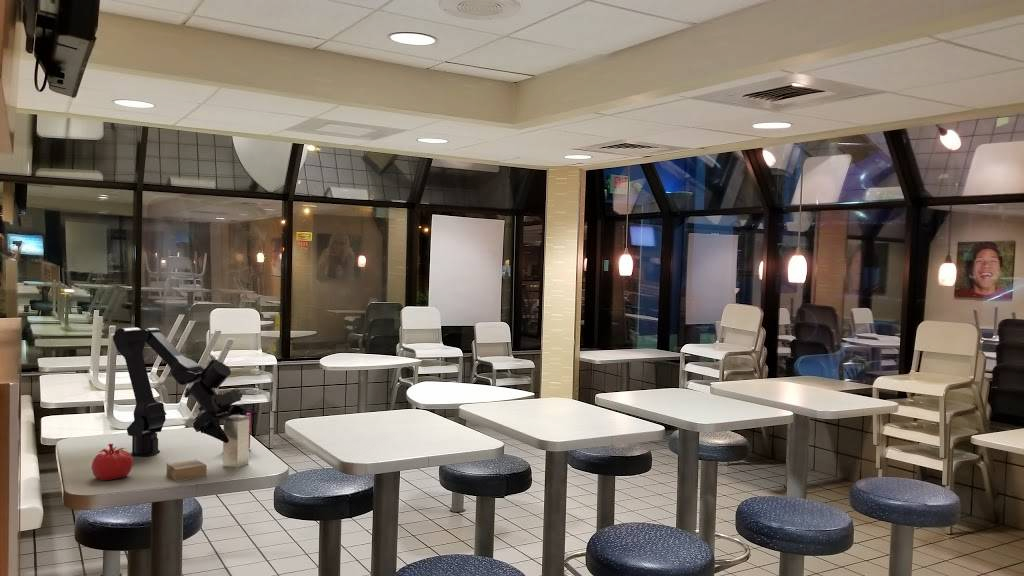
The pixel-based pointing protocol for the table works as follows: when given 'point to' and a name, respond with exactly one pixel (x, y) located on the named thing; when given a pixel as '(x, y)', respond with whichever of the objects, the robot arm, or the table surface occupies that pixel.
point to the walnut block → (186, 470)
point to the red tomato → (112, 464)
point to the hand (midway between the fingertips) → (238, 438)
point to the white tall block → (236, 441)
